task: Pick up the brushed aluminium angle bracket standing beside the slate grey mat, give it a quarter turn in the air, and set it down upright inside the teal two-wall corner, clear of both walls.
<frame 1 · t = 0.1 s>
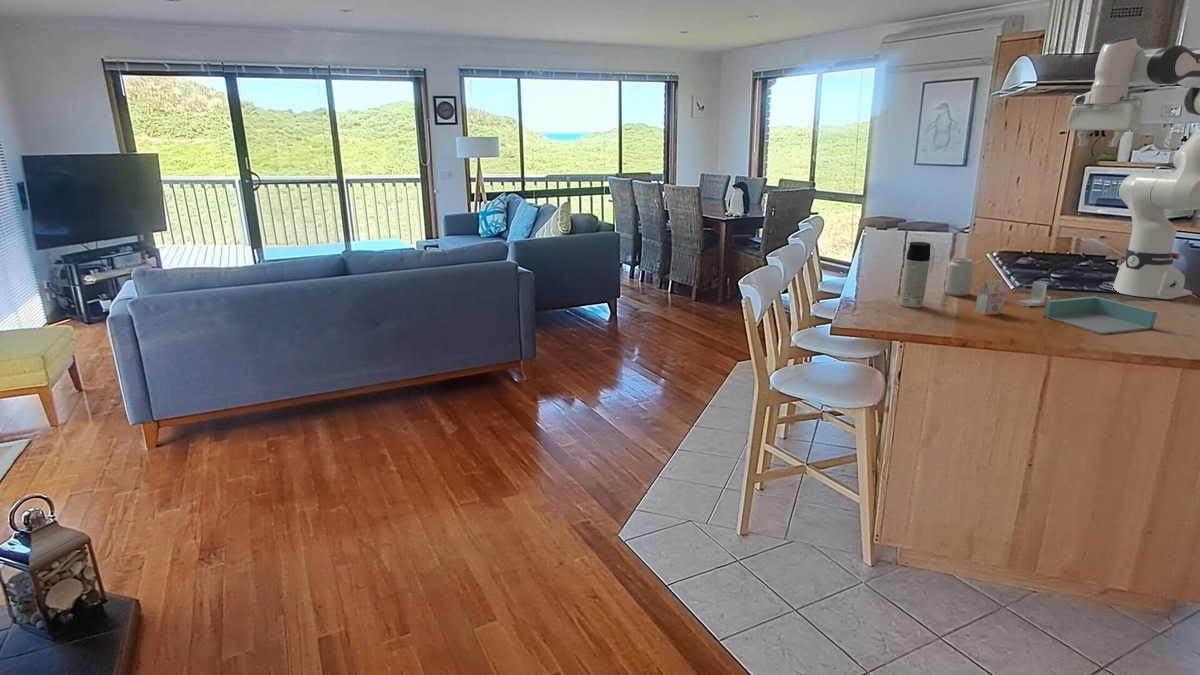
hand: (1097, 146, 196), 48 cm above the worktop, tool pointing down, fingers open, 8 cm apart
can: (956, 294, 220), on the worktop
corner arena: (1096, 322, 187), on the worktop
spray can: (911, 306, 207), on the worktop
milk carton: (988, 313, 198), on the worktop
bracket: (1031, 304, 206), on the worktop
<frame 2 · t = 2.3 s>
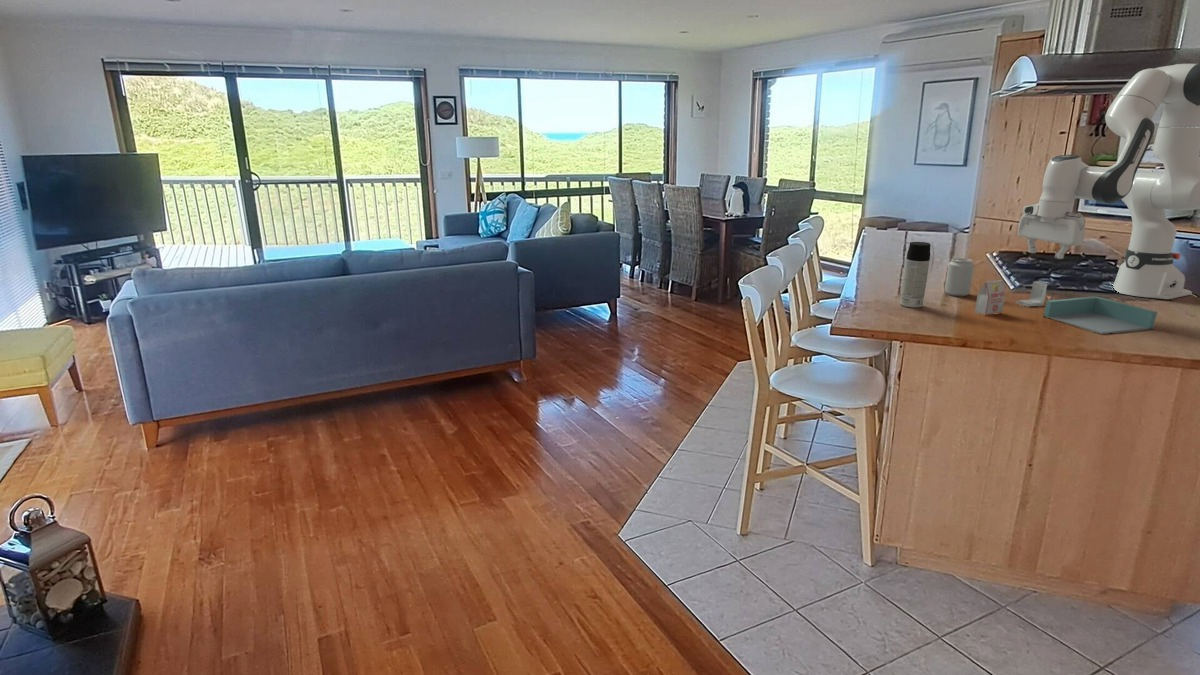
hand: (1045, 255, 201), 16 cm above the worktop, tool pointing down, fingers open, 8 cm apart
nothing on the worktop moved.
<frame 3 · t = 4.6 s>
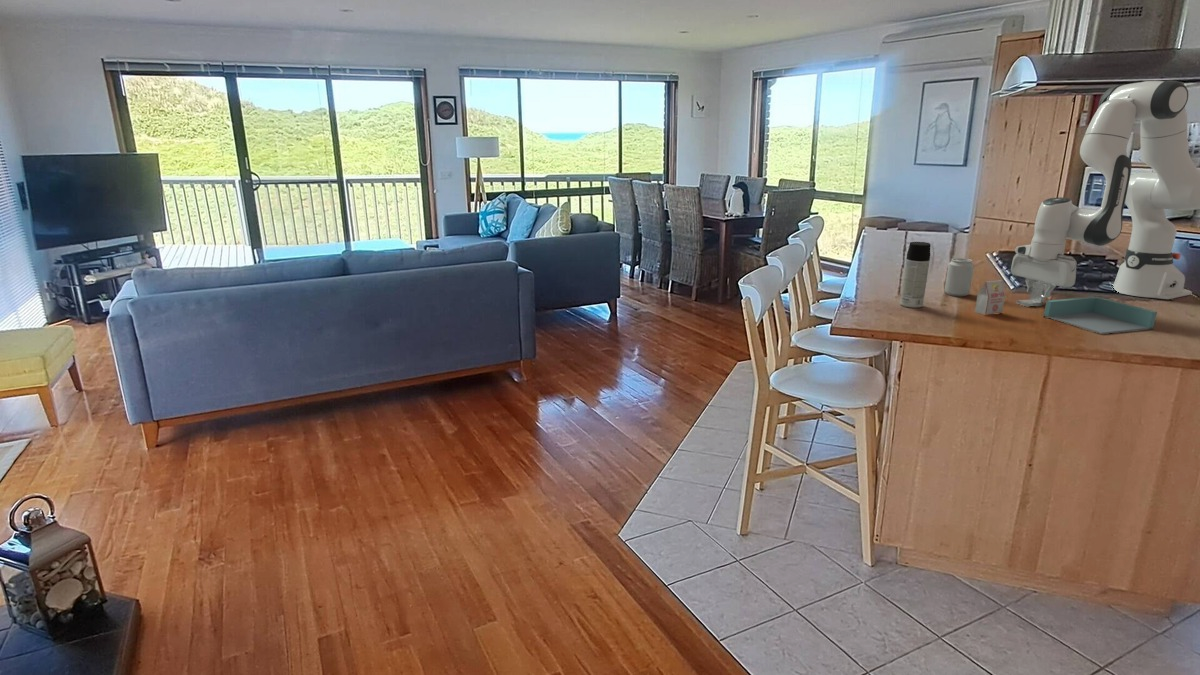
hand: (1037, 294, 205), 3 cm above the worktop, tool pointing down, fingers closed on bracket, 4 cm apart
bracket: (1031, 304, 206), on the worktop, touching gripper
everything else where it was.
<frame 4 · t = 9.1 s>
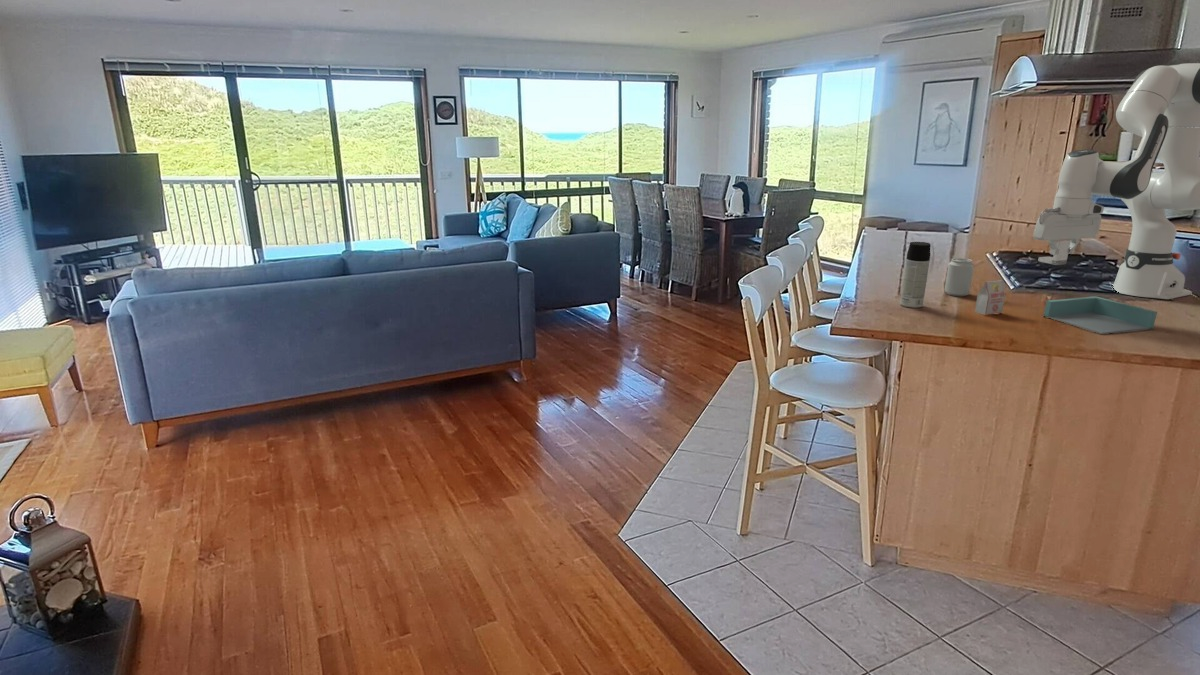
hand: (1061, 253, 195), 17 cm above the worktop, tool pointing down, fingers closed on bracket, 4 cm apart
bracket: (1053, 262, 198), point 14 cm above the worktop, touching gripper
everything else where it was.
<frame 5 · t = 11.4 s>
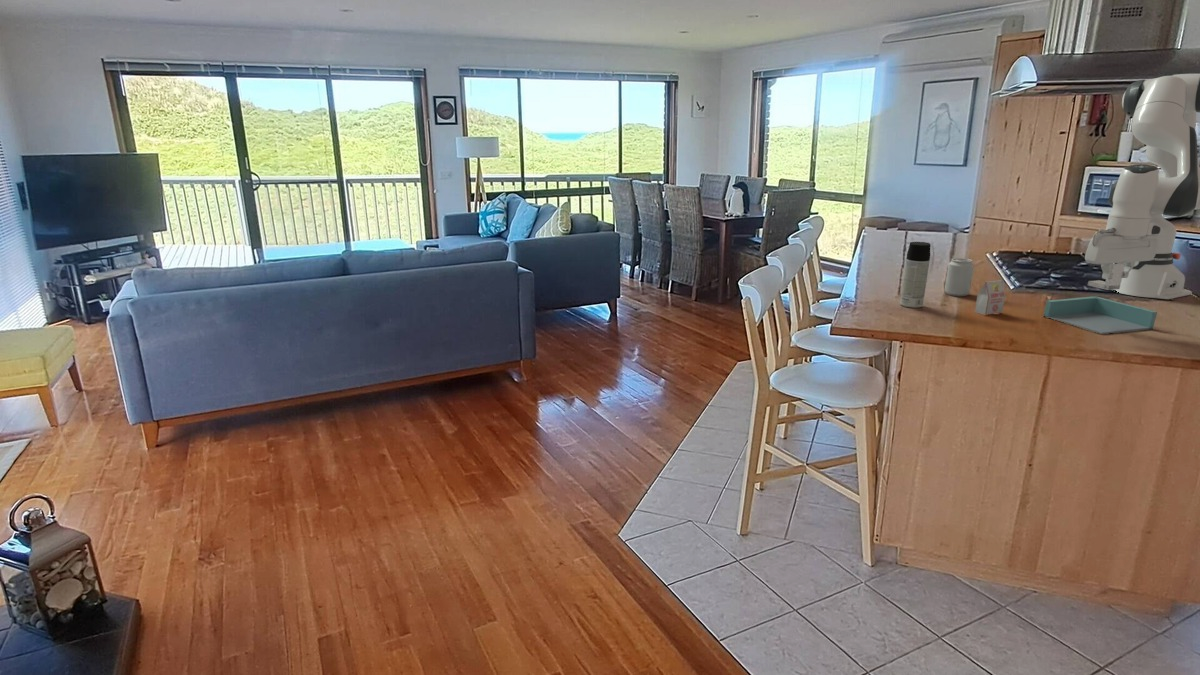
hand: (1114, 278, 178), 14 cm above the worktop, tool pointing down, fingers closed on bracket, 4 cm apart
bracket: (1104, 287, 181), point 11 cm above the worktop, touching gripper
everything else where it was.
when the fingers open (5 cm above the worktop, at t = 13.6 s): bracket drops 2 cm, resting on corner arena.
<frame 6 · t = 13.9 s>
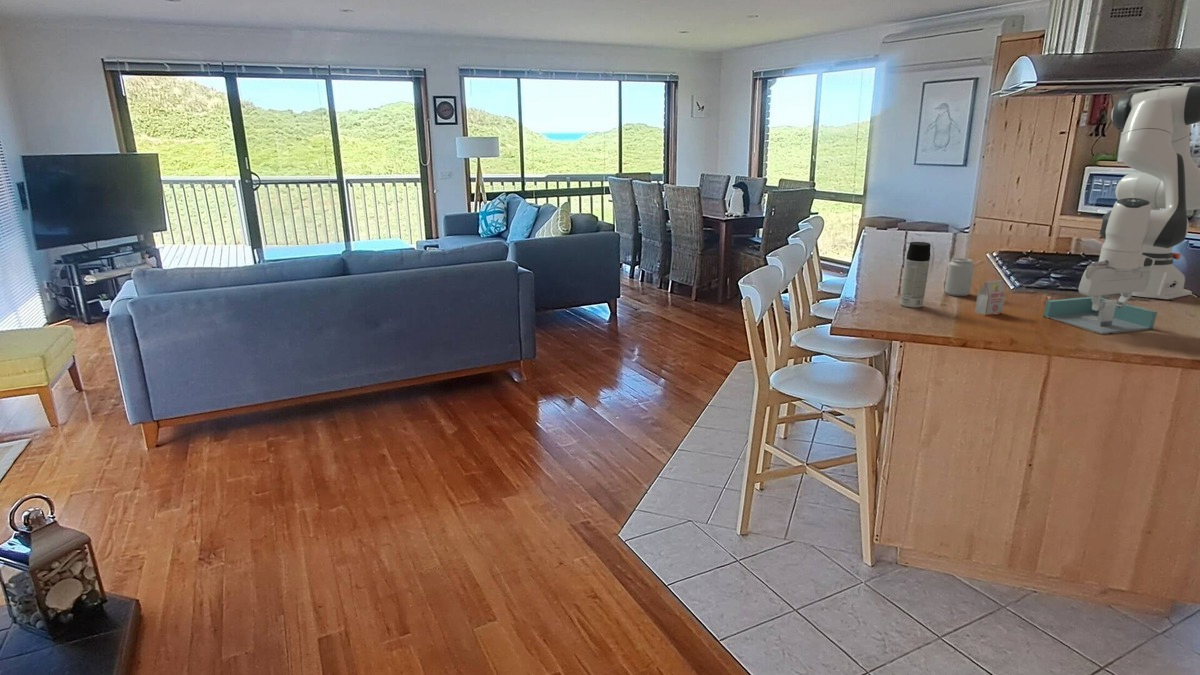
hand: (1107, 308, 181), 5 cm above the worktop, tool pointing down, fingers open, 7 cm apart
bracket: (1097, 323, 184), point 1 cm above the worktop, touching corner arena
everything else where it was.
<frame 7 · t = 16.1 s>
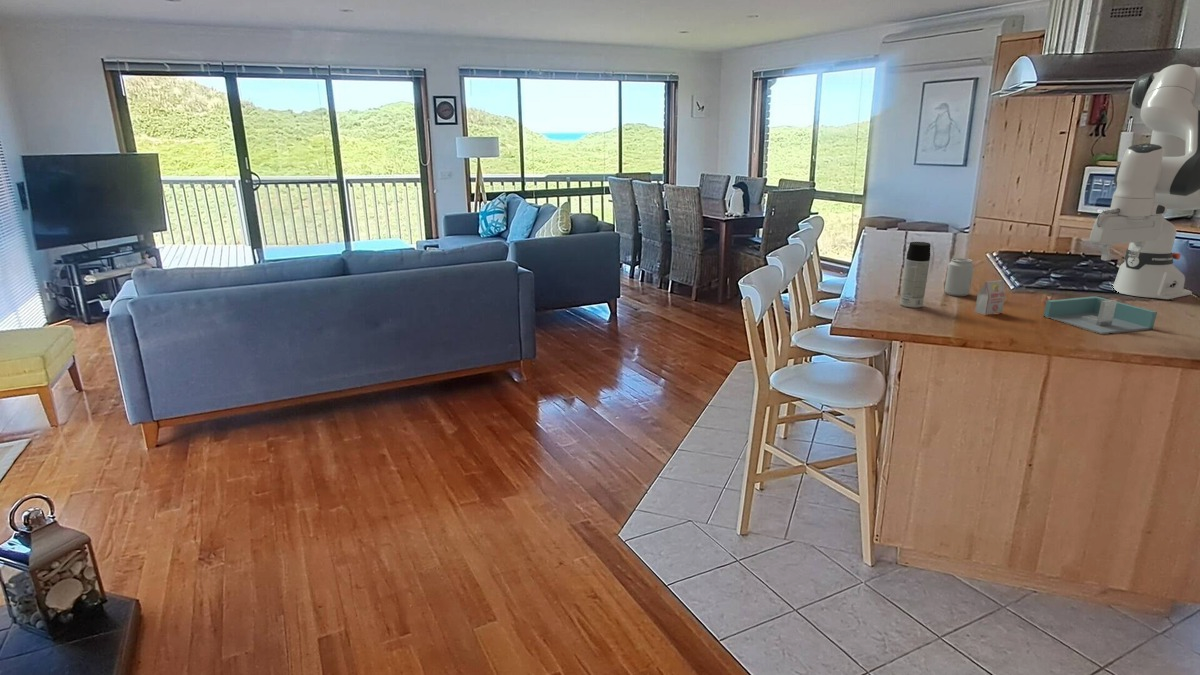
hand: (1119, 258, 178), 19 cm above the worktop, tool pointing down, fingers open, 8 cm apart
nothing on the worktop moved.
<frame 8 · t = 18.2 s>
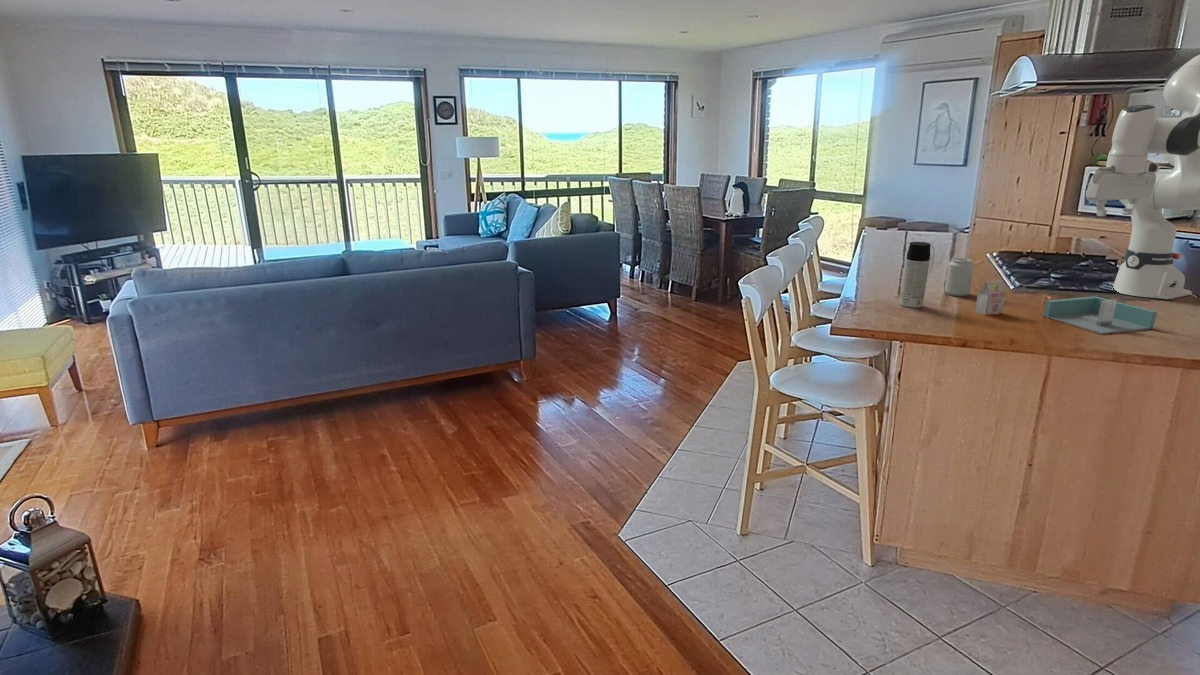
hand: (1113, 215, 188), 29 cm above the worktop, tool pointing down, fingers open, 8 cm apart
nothing on the worktop moved.
at the end: bracket inside the target area on the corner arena (0.2 cm from its centre), point 0.6 cm above the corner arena's base; bracket tilted 0°; the gripper is holding nothing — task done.
